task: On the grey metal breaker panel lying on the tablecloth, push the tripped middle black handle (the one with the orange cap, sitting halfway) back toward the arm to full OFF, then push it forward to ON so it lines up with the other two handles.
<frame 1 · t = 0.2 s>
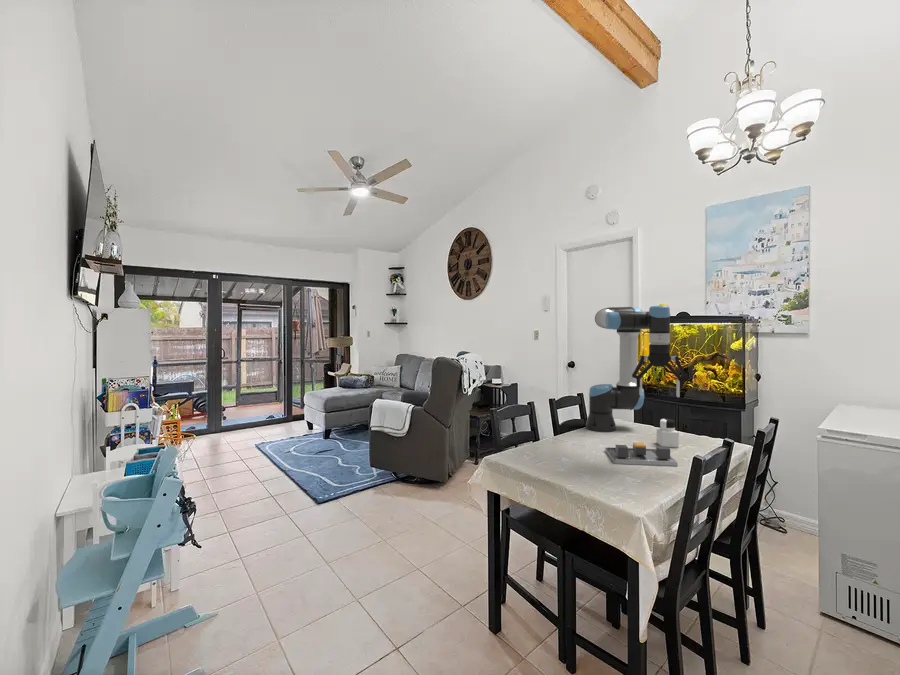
hand: (659, 395, 166), 27 cm above the table, fingers open, 13 cm apart
breaker 2: (663, 452, 166), point 4 cm above the table, slide at 4.0 cm
medicine bottle: (667, 445, 188), on the table
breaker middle: (639, 448, 171), point 4 cm above the table, slide at 0.0 cm
panel: (639, 458, 171), on the table
breaker 1: (621, 451, 168), point 4 cm above the table, slide at 4.0 cm
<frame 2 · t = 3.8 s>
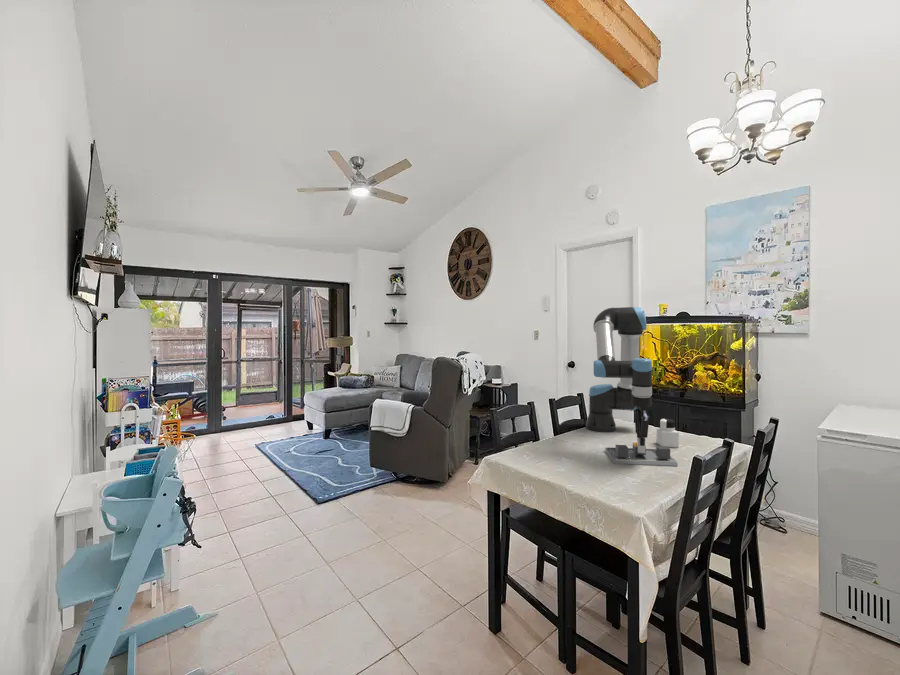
hand: (641, 452, 169), 3 cm above the table, fingers closed
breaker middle: (639, 448, 171), point 4 cm above the table, slide at -0.3 cm, touching gripper
everything else where it was.
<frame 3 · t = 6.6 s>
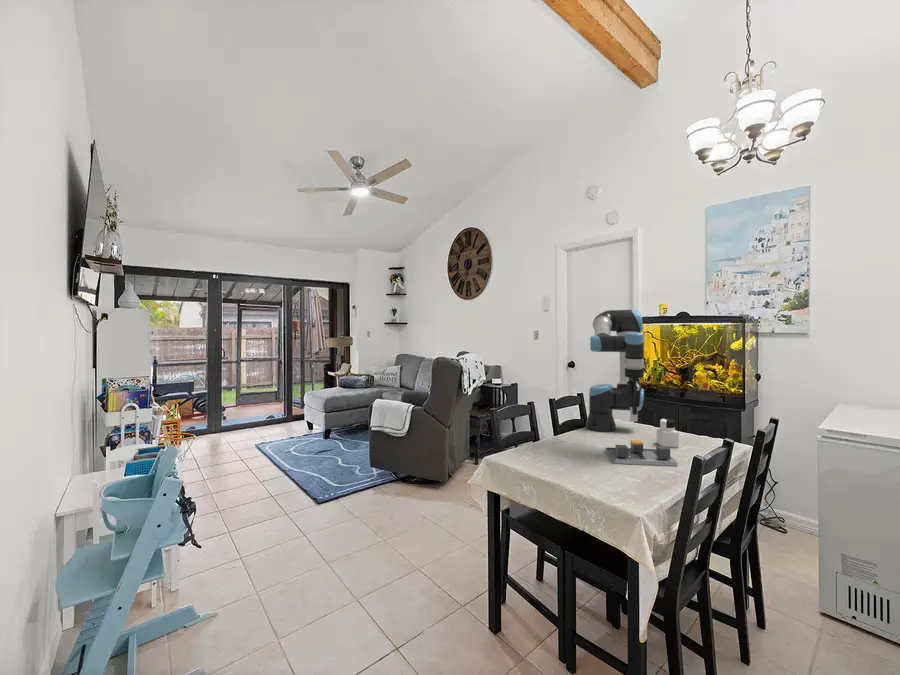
hand: (633, 421, 179), 14 cm above the table, fingers closed
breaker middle: (636, 446, 174), point 4 cm above the table, slide at -3.5 cm
everything else where it was.
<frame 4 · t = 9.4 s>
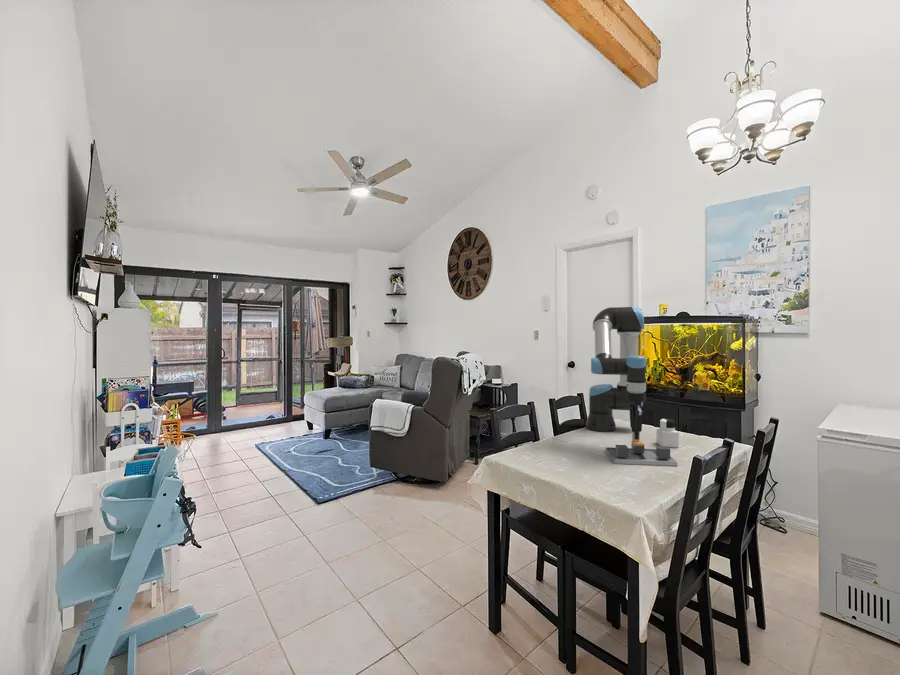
hand: (635, 446, 176), 4 cm above the table, fingers closed
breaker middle: (637, 447, 173), point 4 cm above the table, slide at -2.1 cm, touching gripper
everything else where it was.
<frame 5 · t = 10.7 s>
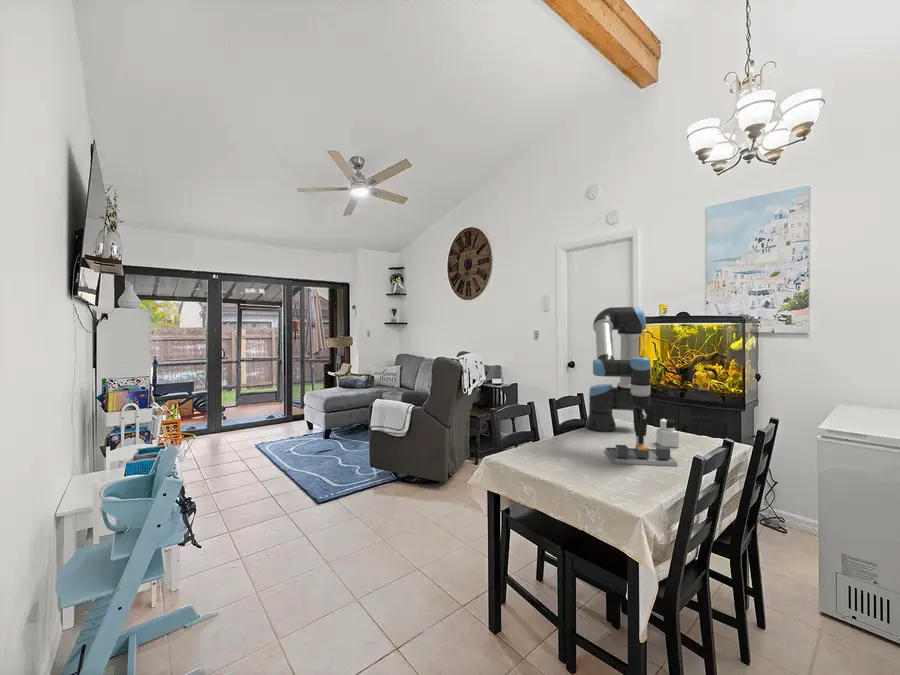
hand: (639, 450, 170), 3 cm above the table, fingers closed
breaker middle: (642, 451, 167), point 4 cm above the table, slide at 3.6 cm, touching gripper
everything else where it was.
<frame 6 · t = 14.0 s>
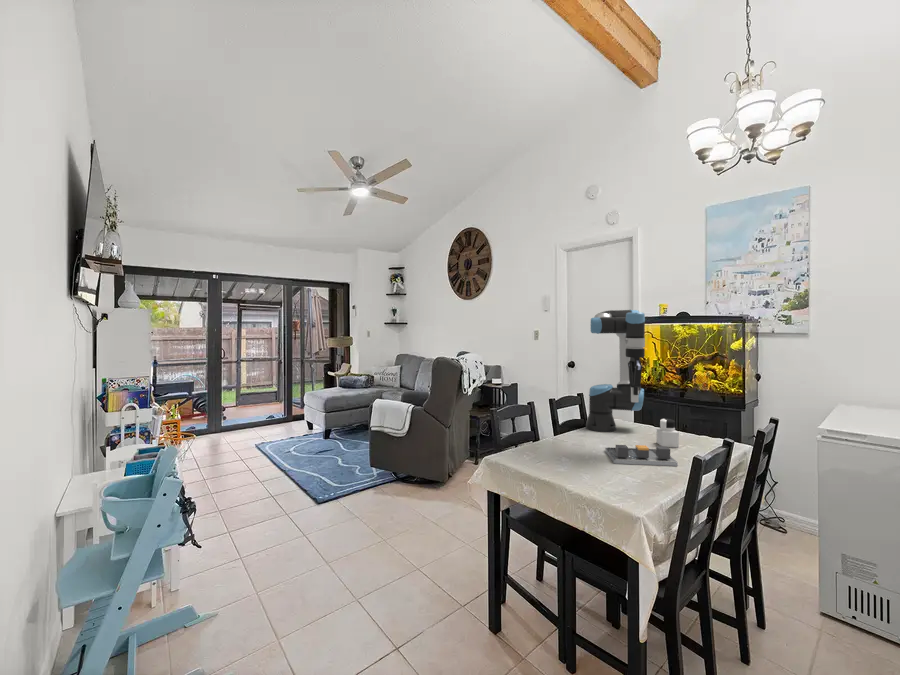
hand: (634, 401, 177), 22 cm above the table, fingers closed
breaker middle: (642, 451, 167), point 4 cm above the table, slide at 3.7 cm
everything else where it was.
at the end: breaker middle slide at 3.7 cm; medicine bottle moved 0.2 cm from its start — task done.
